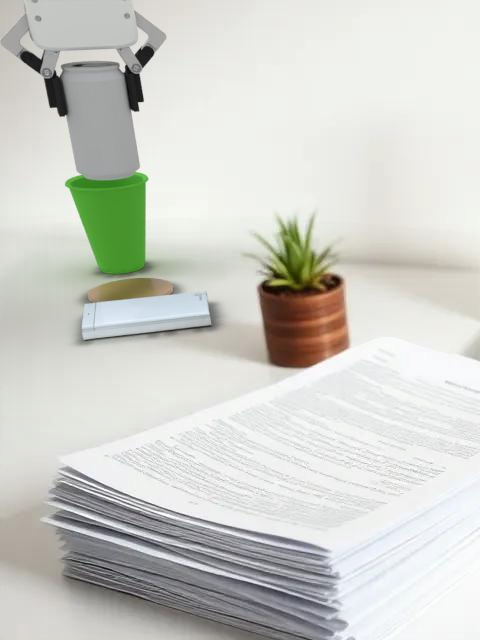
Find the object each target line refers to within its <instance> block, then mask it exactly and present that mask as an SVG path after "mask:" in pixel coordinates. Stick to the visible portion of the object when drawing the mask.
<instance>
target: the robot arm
mask: <svg viewBox="0 0 480 640" xmlns="http://www.w3.org/2000/svg"><path fill="white" fill-rule="evenodd" d="M22 1H23V9H24V12H23V13H22V14H21V15H20V17H19V18H18V19H17V20H16V21H15V22H14V23H13V24H12V25H11V26H10V27H9V28H8V29H7V31H5V33H4V34H3V35H2V36H1V37H0V44H1V46H2V47H3V48H4V49H6V50H7V51H9V52H10V53H11V54H12V55H13V56H15V57H16V58H17V59H19V60H20V61H21V62H22V63H24V64H25V65H26V66H28V67H29V68H31V69H32V70H33V71H34V72H36V73H38V74H39V75H40V76H41V77H42V78H43V82H44V86H45V92H46V97H47V101H48V106H49V109H56V112H57V114H58V117H59V118H63V117H64V118H65V117H66V115H67V112H66V107H65V102H64V97H63V92H62V86H61V81H60V78H59V77H60V75H57V71H56V67H57V63H58V59H59V57H60V53H61V52H65V51H66V52H67V51H68V52H69V51H92V50H93V51H95V50H113V49H115V51H116V52H117V53H118V55H119V56H120V58H121V59H122V61H123V63H124V64H125V65H124V71H122V72H123V73H124V74H125V77H126V83H127V89H128V95H129V101H130V107H131V112H134V113H136V112H139V113H140V105H139V103H144V102H145V98H144V93H143V86H142V80H141V74H140V73H142V71H143V69H144V68H145V67H146V65H147V64H148V63H149V62H150V61H151V59H152V58H153V57H154V56H155V54H156V52H157V51H158V50H159V49H160V48H161V46H162V45H163V44H164V43H165V41H166V40H167V34H166V33H165V32H164V31H163V30H161V29H160V28H159V27H157V25H155V24H153V23H152V22H151V21H149V20H148V19H147V18H145V17H144V16H143V15H141V14H140V13H139V12H138V11H136V10H135V8H134V4H133V0H22ZM138 29H140V30H141V31H143V32H144V33H145V34H146V35H147V39H146V40H145V42H144V43H143V45H141V46H140V47H139V49H138V50H137V51H135V53H134V52H133V50H132V49H131V47H132V46H134V45H136V44H137V43H138V40H139V30H138ZM27 33H28V35H29V37H30V39H31V40H32V42H33V44H34V45H35V46H36V47H37V48H38V49H41V50H42V53H41V57H38V56H37V55H36V54H35V53H33V52H32V51H30V50H29V49H28V48H26V46H24V45H23V44H22V43H21V40H22V38H23V37H24V36H25V35H26V34H27Z"/></svg>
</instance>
